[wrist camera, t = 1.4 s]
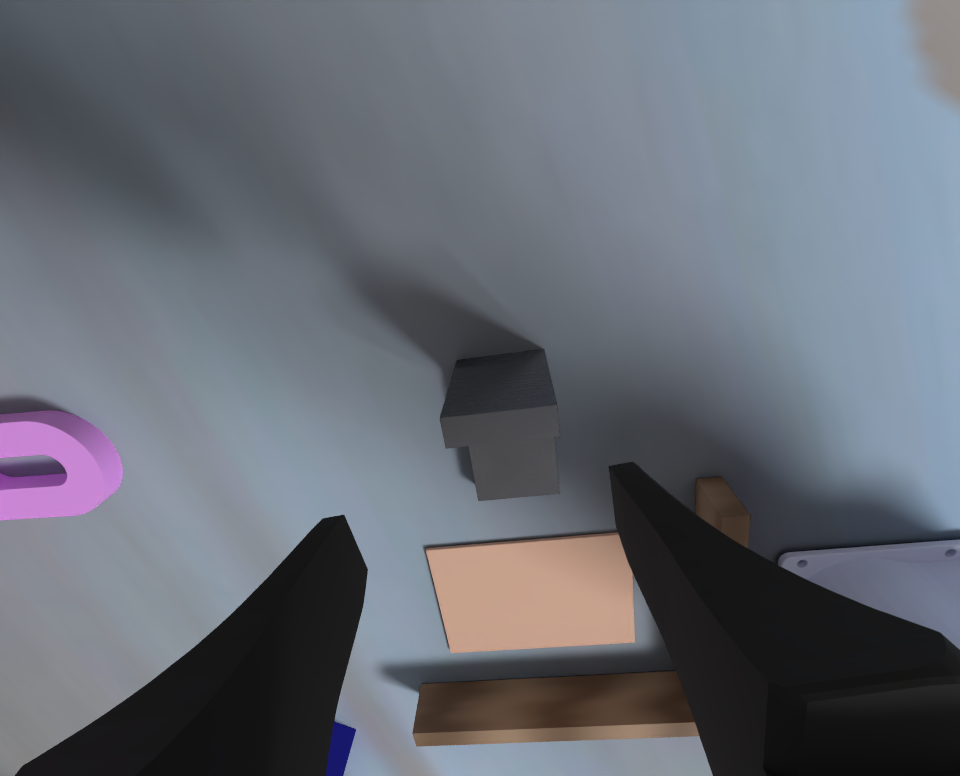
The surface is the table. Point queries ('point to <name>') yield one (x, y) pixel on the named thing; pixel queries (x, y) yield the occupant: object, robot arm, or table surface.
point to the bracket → (74, 447)
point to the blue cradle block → (339, 749)
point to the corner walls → (574, 685)
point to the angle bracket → (505, 423)
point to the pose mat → (534, 593)
